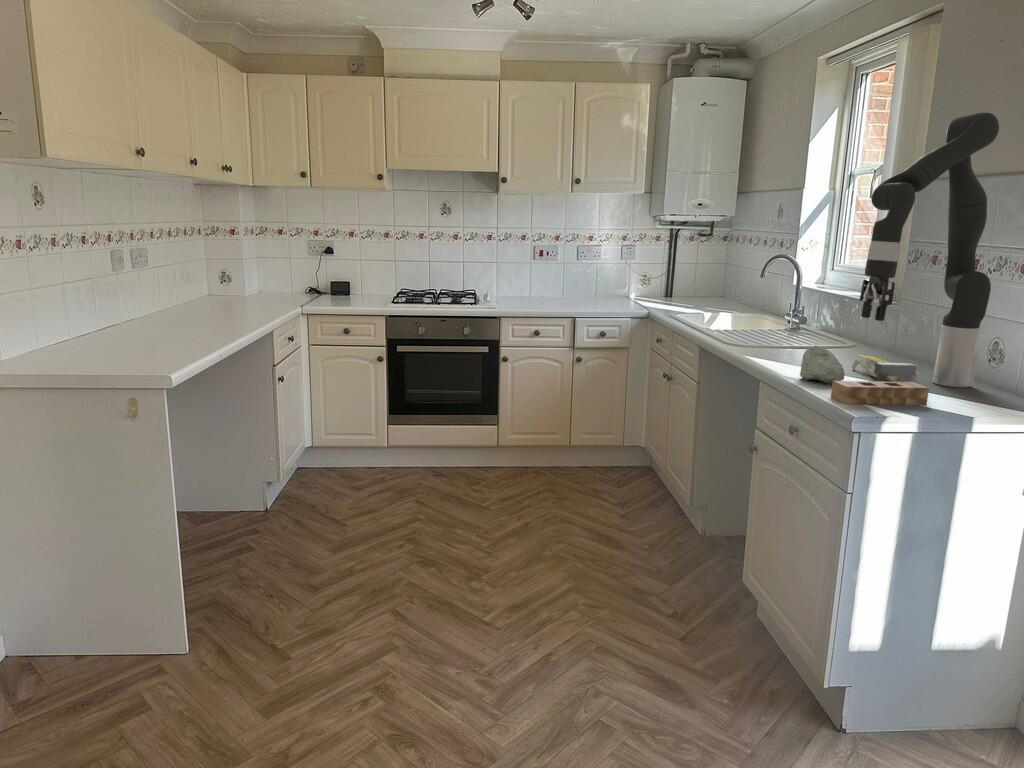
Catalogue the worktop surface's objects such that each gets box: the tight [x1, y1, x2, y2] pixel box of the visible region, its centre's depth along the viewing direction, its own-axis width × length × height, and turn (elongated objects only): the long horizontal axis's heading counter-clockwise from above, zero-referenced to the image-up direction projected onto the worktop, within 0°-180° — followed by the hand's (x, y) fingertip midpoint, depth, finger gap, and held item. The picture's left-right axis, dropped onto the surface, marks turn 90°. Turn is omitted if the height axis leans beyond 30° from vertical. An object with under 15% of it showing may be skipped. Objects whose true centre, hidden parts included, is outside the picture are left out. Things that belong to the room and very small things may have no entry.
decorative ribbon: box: [851, 354, 922, 384], centre depth 213 cm, size 8×6×30 cm
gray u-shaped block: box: [874, 362, 918, 382], centre depth 196 cm, size 10×3×8 cm, turn 94°
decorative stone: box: [799, 344, 846, 385], centre depth 208 cm, size 14×11×10 cm
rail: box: [830, 380, 930, 406], centre depth 186 cm, size 22×7×4 cm, turn 94°
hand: (872, 319), depth 196 cm, fingers open, 8 cm apart
